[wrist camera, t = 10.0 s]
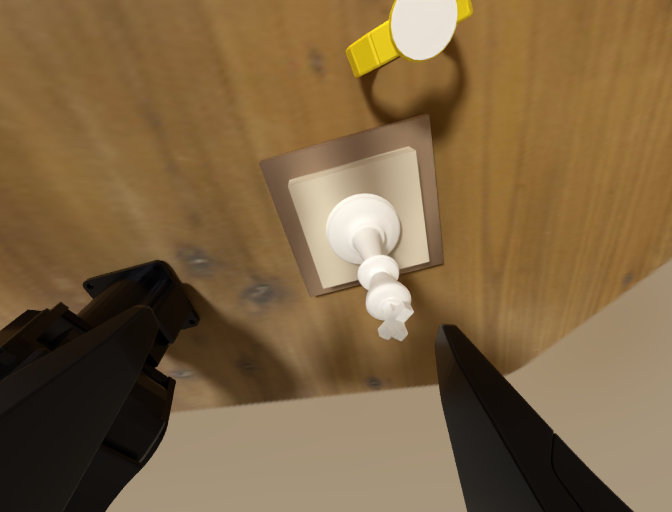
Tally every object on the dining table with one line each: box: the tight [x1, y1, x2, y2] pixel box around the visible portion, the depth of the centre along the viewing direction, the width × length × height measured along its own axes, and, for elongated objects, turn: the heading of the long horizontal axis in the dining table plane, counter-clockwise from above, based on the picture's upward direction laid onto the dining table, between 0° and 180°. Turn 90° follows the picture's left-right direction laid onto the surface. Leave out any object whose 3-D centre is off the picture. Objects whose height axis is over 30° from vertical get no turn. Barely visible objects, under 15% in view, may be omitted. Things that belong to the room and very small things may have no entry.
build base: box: [259, 114, 443, 297], centre depth 21 cm, size 11×11×2 cm
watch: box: [346, 0, 473, 78], centre depth 15 cm, size 6×3×6 cm, turn 116°
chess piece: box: [326, 193, 414, 341], centre depth 16 cm, size 5×5×10 cm
